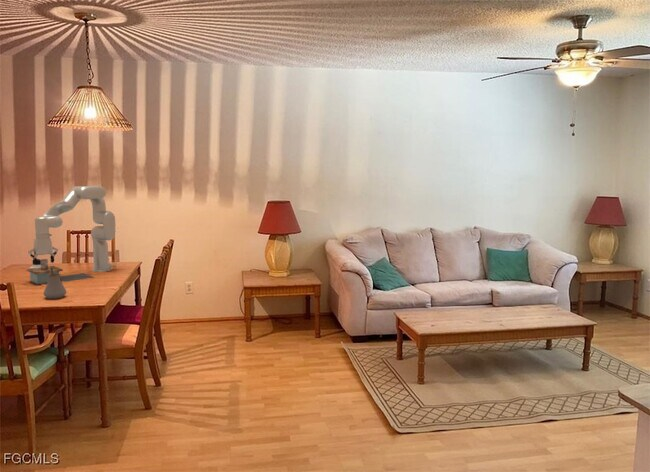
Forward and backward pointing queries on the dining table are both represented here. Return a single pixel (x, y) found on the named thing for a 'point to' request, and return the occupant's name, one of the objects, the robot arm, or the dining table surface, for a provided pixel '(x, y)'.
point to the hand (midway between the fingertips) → (44, 263)
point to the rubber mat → (75, 277)
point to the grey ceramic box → (40, 278)
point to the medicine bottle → (37, 264)
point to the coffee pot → (54, 286)
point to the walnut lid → (44, 268)
